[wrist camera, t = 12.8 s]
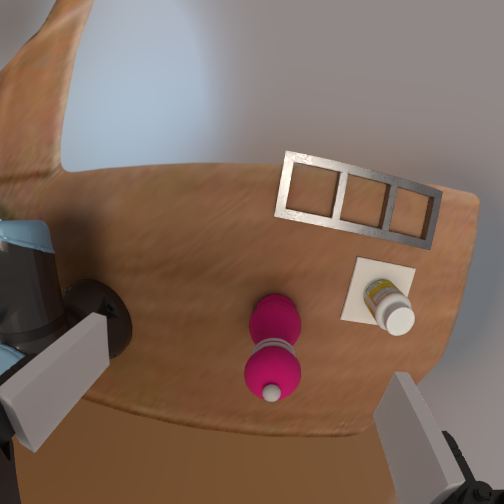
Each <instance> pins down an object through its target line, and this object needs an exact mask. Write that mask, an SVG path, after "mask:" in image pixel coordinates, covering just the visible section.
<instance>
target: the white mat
mask: <svg viewBox="0 0 504 504" xmlns="http://www.w3.org/2000/svg"><path fill="white" fill-rule="evenodd" d="M415 270H416V269H415V268H412V267H407V266H402V265H397V264H393V263H388V262H383V261H378V260H373V259H368V258H363V257H358V256H357V258H356V262H355V266H354V270H353V274H352V277H351V281H350V285H349V288H348V292H347V296H346V299H345V303H344V306H343V309H342V313H341V316H340V319H341V320H347V321H354V322H361V323H368V324H375V325H378V324H377V322H376V321H375V319H374V318H373V316H372V314H371V313H370V311H369V310H368V308H367V306H366V305H365V302H364V291H365V289H366V287H367V286H368V285H369V284H370V283H371V282H372V281H374V280H376V279H381V278H383V279H387V280H389V281H391V282H392V283H393V284H394V285H395V286H396V287H397V288H398V289H399V290H400V291H401V292H402V293H403V294H404V295H405V296H406V297H407V296H408V293H409V290H410V286H411V283H412V280H413V276H414V273H415Z"/></svg>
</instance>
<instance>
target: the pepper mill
mask: <svg viewBox="0 0 504 504" xmlns="http://www.w3.org/2000/svg"><path fill="white" fill-rule="evenodd" d="M249 330H250V335H251V337H252V340H253V342H254V343H255V344H256V346H255V348H254V349H253V352H252V356H251V357H250V358H249V360H248V361H247V363H246V366H245V371H244V377H245V382H246V385H247V387H248V388H249V390H250V391H251V392H252V393H253V394H254V395H256V396H258V397H259V398H262V399H265V400H267V401H269V402H274V401H276V400H280V399H283V398H285V397H287V396H289V395H291V394H292V393H293V392H294V391H295V389H296V388H297V387H298V385H299V382H300V379H301V367H300V363H299V362H298V360H297V358H296V357H295V351H294V349H293V347H292V346H293V345H294V344H295V342H296V341H297V339H298V337H299V335H300V332H301V320H300V316H299V314H298V313H297V311H296V308H295V305H294V304H293V302H292V301H291V300H290V299H288V298H287V297H285V296H282V295H269V296H267V297H265V298H263V299H262V300H261V301H260V302H259V303H258V305H257V307H256V310H255V311H254V312H253V314H252V315H251V318H250V323H249Z"/></svg>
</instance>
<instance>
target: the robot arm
mask: <svg viewBox="0 0 504 504" xmlns="http://www.w3.org/2000/svg"><path fill="white" fill-rule="evenodd" d="M54 254H55V251H54V250H53V246H52V242H51V236H50V231H49V227H48V226H47V224H46V223H45V222H44V221H42V220H38V219H31V220H9V221H0V504H21V501H20V495H19V489H18V482H17V476H16V468H15V458H14V447H13V441H12V438H11V437H12V436H13V435H14V434H16V436H17V438H18V439H19V442H20V443H21V444H22V445H24V446H25V447H27V448H28V449H30V450H31V451H33V452H34V453H35V452H36V451H37V450H38V448H39V447H40V446H41V445H42V444H43V442H44V441H45V440H46V439H47V437H48V436H49V435H50V434H51V433H52V431H53V430H54V429H55V428H56V427H57V425H58V424H59V423H60V422H61V421H62V419H63V418H64V417H65V416H66V415H67V413H68V412H69V411H70V410H71V409H72V407H73V406H74V405H75V404H76V403H77V402H78V401H79V399H80V398H81V397H82V396H83V395H84V394H85V392H86V391H87V390H88V389H89V388H90V387H91V385H92V384H93V383H94V382H95V381H96V380H97V379H98V377H99V376H100V375H101V374H102V373H103V372H104V371H105V369H106V368H107V367H108V366H109V365H110V364H109V359H112V358H115V357H117V356H118V355H119V354H121V353H122V352H123V350H124V349H125V348H126V347H127V346H128V344H129V342H130V340H131V335H132V325H131V320H130V316H129V314H128V311H127V309H126V307H125V305H124V304H123V302H122V301H121V299H120V298H119V297H118V295H117V294H116V293H115V292H114V291H113V290H111V289H110V288H109V287H108V286H106V285H104V284H103V283H101V282H98V281H95V280H81V281H79V282H77V283H75V284H73V285H72V286H70V287H69V288H68V289H67V290H66V291H65V292H64V294H63V295H62V293H61V289H60V284H59V279H58V274H57V268H56V262H55V256H54ZM373 418H374V421H375V424H376V427H377V430H378V433H379V436H380V440H381V443H382V446H383V449H384V452H385V455H386V459H387V462H388V466H389V469H390V473H391V476H392V479H393V483H394V486H395V490H396V494H397V497H398V501H399V504H504V490H492V488H491V487H490V486H489V484H487V483H485V482H482V481H476V480H475V478H474V477H473V474H472V472H471V470H470V468H469V466H468V464H467V462H466V461H465V458H464V457H463V456H462V453H461V451H460V449H458V445H457V443H456V441H455V440H454V438H453V437H452V436H451V435H450V434H449V433H447V431H441V430H440V428H439V426H438V424H437V423H436V421H435V419H434V417H433V415H432V414H431V412H430V410H429V408H428V407H427V404H426V402H425V401H424V399H423V397H422V395H421V394H420V392H419V390H418V388H417V387H416V385H415V383H414V381H413V380H412V378H411V376H410V375H409V373H408V372H394V374H393V376H392V378H391V380H390V382H389V384H388V387H387V389H386V391H385V393H384V395H383V397H382V399H381V400H380V402H379V404H378V406H377V408H376V410H375V412H374V414H373Z"/></svg>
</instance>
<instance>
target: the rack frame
mask: <svg viewBox="0 0 504 504" xmlns="http://www.w3.org/2000/svg"><path fill="white" fill-rule="evenodd" d="M293 163H299V164H304V165H308V166H313V167H318V168H323V169H327V170H332V171H336V172H339V173H338V178H337V184H336V189H335V194H334V199H333V204H332V209H331V214H330V217H327V216H322V215H317V214H313V213H308V212H303V211H298V210H292V209H287V208H285V207H286V202H287V196H288V191H289V185H290V180H291V174H292V169H293ZM348 174H349V175H353V176H357V177H361V178H365V179H369V180H373V181H377V182H380V183H384V184H387V187H386V193H385V198H384V203H383V208H382V213H381V218H380V222H379V227H378V228H377V227H373V226H368V225H364V224H359V223H355V222H350V221H346V220H341V219H339V218H340V213H341V208H342V203H343V198H344V193H345V188H346V183H347V177H348ZM397 187H398V188H402V189H405V190H409V191H412V192H415V193H419V194H422V195H425V196H428V197H429V201H428V206H427V211H426V216H425V221H424V225H423V230H422V234H421V238H418V237H414V236H410V235H406V234H402V233H398V232H394V231H390V230H389V226H390V222H391V217H392V212H393V208H394V203H395V197H396V192H397ZM442 193H443V191H440V190H437V189H434V188H431V187H428V186H425V185H422V184H418V183H415V182H412V181H409V180H405V179H402V178H399V177H395V176H391V175H388V174H385V173H381V172H377V171H373V170H370V169H366V168H362V167H358V166H354V165H350V164H346V163H342V162H338V161H333V160H329V159H324V158H320V157H315V156H310V155H305V154H301V153H295V152H290V151H286V154H285V159H284V165H283V171H282V176H281V182H280V187H279V193H278V198H277V204H276V209H275V215H274V217H279V218H285V219H290V220H295V221H300V222H305V223H310V224H315V225H320V226H325V227H330V228H335V229H340V230H344V231H349V232H354V233H358V234H363V235H367V236H372V237H376V238H381V239H385V240H390V241H394V242H398V243H403V244H407V245H411V246H415V247H419V248H424V249H428V250H430V249H431V245H432V241H433V236H434V232H435V228H436V223H437V219H438V214H439V209H440V204H441V198H442Z"/></svg>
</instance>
